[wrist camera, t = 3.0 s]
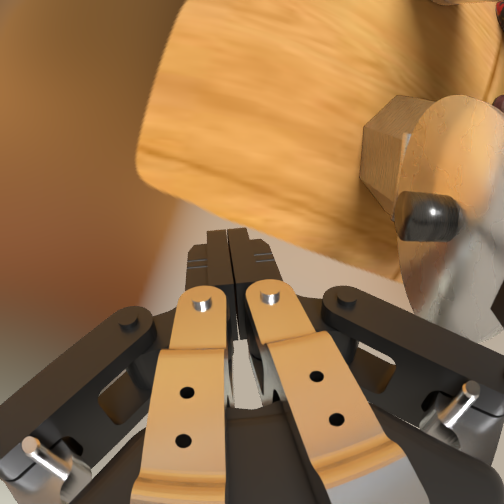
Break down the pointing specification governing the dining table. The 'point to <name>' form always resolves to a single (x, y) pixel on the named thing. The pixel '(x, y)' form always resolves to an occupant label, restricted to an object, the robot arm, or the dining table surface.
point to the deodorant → (500, 13)
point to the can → (499, 103)
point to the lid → (453, 216)
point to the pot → (388, 146)
